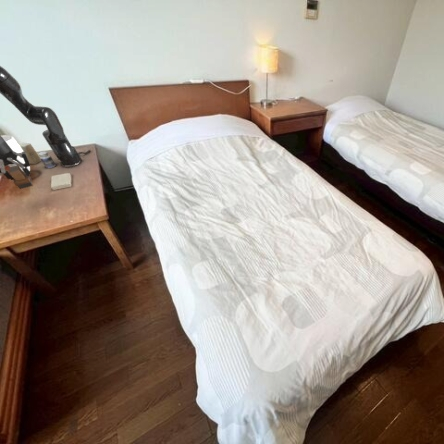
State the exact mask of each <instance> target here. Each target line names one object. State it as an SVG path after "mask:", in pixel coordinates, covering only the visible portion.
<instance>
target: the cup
mask: <svg viewBox="0 0 444 444" xmlns="http://www.w3.org/2000/svg"><path fill="white" fill-rule="evenodd" d="M1 136H2V138H3V139H4V140H5V141H6V143H7V144H8V145H9V147H10V148H11V149H12V150H13V151H14V152H16V153H22V152H24V151H23V150H22V148H21V147H20V145H19V143H18V142H17V140H16V138H14V136H13V135H10V134H9V135H8V134H7V135H1ZM17 160H19V161H20V162H21V163H23V164H24V163H25V162H24V159H23V158H21V157H20V156H17ZM7 166H8V167H13V166H17V165H15V164H9V165H7ZM20 168H21V167H20ZM27 169H28V170H29V171H30V172H31V165H30V166H29V167H27ZM21 170H22V168H21ZM22 171H23V170H22Z"/></svg>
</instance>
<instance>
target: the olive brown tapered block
mask: <svg viewBox="0 0 444 444" xmlns="http://www.w3.org/2000/svg"><path fill="white" fill-rule="evenodd" d="M18 144H19V143H18ZM19 145H20V147H21V148H22V150H23V151H24V152H25V153H26V156H27V158H28V161H29V164H30V165H36V164H38V163H40V162H42V161H41V159H40V156H39V155H38V153H37V151H36V149H35V148H34V146H33V144H32V143H31V142H22V143H20V144H19Z"/></svg>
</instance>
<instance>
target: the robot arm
mask: <svg viewBox="0 0 444 444" xmlns="http://www.w3.org/2000/svg"><path fill="white" fill-rule="evenodd" d="M0 95H1V96H3V98H5V99H6V100H7V101H8V102H9V103H11V104H12V106H14V108H16V109H17V110H18V112H19V113H21V115H23V116H24V118H26V120H28V121H29V122H30V123H31V124H34V125H39V126H45V127H46V129H45V130H43V132H42V137H43V138H44V140H45V141H46V143H47V144H48V146H49V147H50V149H51V150H52V152H53V154H54V155H55V157H56V158H57V161H58V162H59V163H60V165H61V167H63V168H73V167H75V166H78V165H80V164H81V162H82V158H81V156H82V155H81V154H83V155H87V154H89V153H90V152H91V150H90V149H88V150H87V151H86V152H85V151H79V152H78V151H77V150H76V148H75V146H73V145H72V144H71V142H70V141H69V139H68V137H67V135H66V133H65V131H64V127H63V125H62V123H61V121H60V119H59V117H58V116H57V114H56V112H55V111H54V110H53V108H50V107H48V106H38V105H37V106H36V105H34V104H32V103H31V102H30V101H28V100H27V98H26V97H25V96H24V94H23V91H22V86H21V84H20V83H19V81H18V80H17V79H16V78H15V77H14V76H13V75H12V74H11V73H10V72H8V70H7V69H5V68H4V67H3V66H1V65H0ZM2 136H3V135H1V134H0V174H2V175H4V177H5V178H6V179H7V180H10V181H13V176H12V175H11V174H10V171H8V170H6V166H8V165H9V164H15V165H17V166H19V167H21V168H22V170H23V171H24V172H25V173H26V175H27V176H30V175H31V170H30V171H29V170H28V169H27V167H29V166H30V167H31V164H29V161H28V158H27V156H26V153H25V152H22V153H16V152H14V151H13V150H12V149H11V148H10V147H9V145H8V144H7V143H6V141H5V140H4V139H3V138H2ZM17 156H20V157H21V158H23V159H24V162H25V163H24V164H23V163H21V162H20V161H19V160H17ZM30 177H31V176H30Z"/></svg>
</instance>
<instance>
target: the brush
mask: <svg viewBox="0 0 444 444" xmlns="http://www.w3.org/2000/svg"><path fill="white" fill-rule="evenodd" d="M8 170H9V173H10V175H11V176H12V177H13V180H12V181H13V185H14V186H15V187H17V188H18V189H19V190H21V189H25V188H29V187H33V186H34V185H33V181H32V177H31V176H27V175H26V173H25V172H24V171H22V170H21V168H20V167H19V166H13V167H10V166H8Z"/></svg>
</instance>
